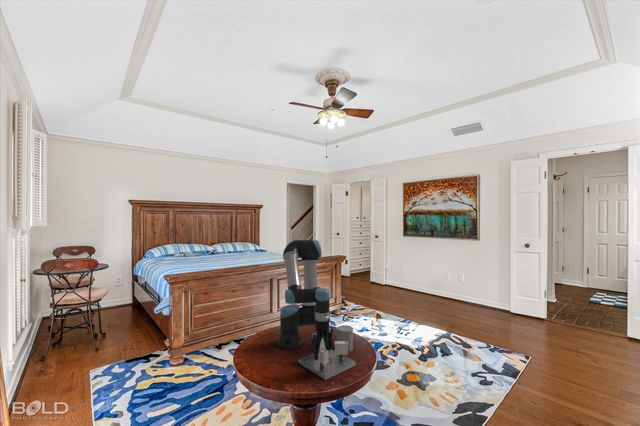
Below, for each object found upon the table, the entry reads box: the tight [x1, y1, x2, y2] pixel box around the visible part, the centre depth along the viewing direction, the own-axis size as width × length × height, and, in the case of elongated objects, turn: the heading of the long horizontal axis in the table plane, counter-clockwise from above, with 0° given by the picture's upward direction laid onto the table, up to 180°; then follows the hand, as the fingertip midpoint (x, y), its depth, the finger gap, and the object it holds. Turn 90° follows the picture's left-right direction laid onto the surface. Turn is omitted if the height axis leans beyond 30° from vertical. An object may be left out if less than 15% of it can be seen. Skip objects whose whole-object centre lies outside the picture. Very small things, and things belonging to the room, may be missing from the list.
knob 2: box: [334, 340, 349, 360], centre depth 167 cm, size 7×3×10 cm, turn 87°
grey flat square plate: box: [297, 348, 357, 381], centre depth 166 cm, size 22×22×3 cm
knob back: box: [320, 338, 326, 349], centre depth 171 cm, size 7×3×10 cm, turn 130°
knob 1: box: [319, 347, 329, 368], centre depth 158 cm, size 7×3×10 cm, turn 41°
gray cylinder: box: [336, 324, 354, 353], centre depth 185 cm, size 10×10×12 cm
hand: (321, 363), depth 158 cm, fingers open, 5 cm apart
